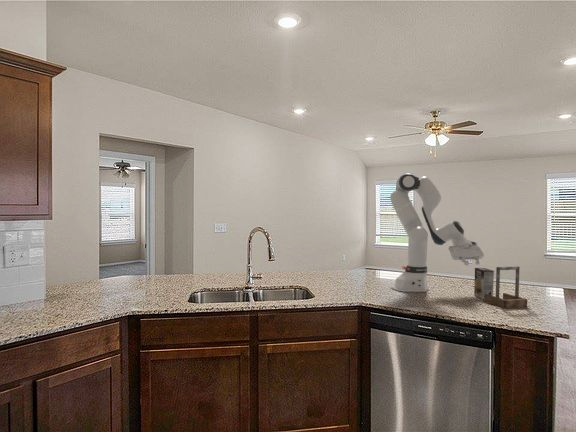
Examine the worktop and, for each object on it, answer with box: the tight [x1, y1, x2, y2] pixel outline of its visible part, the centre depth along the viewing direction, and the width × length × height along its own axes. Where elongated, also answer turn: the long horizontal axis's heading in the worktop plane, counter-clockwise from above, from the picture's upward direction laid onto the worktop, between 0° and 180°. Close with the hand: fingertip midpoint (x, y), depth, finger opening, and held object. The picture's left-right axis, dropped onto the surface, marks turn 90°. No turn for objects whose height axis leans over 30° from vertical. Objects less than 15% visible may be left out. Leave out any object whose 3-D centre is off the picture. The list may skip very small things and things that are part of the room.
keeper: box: [483, 266, 528, 309], centre depth 215 cm, size 13×15×20 cm
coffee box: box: [473, 267, 495, 300], centre depth 231 cm, size 9×6×16 cm
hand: (472, 264), depth 240 cm, fingers open, 6 cm apart
